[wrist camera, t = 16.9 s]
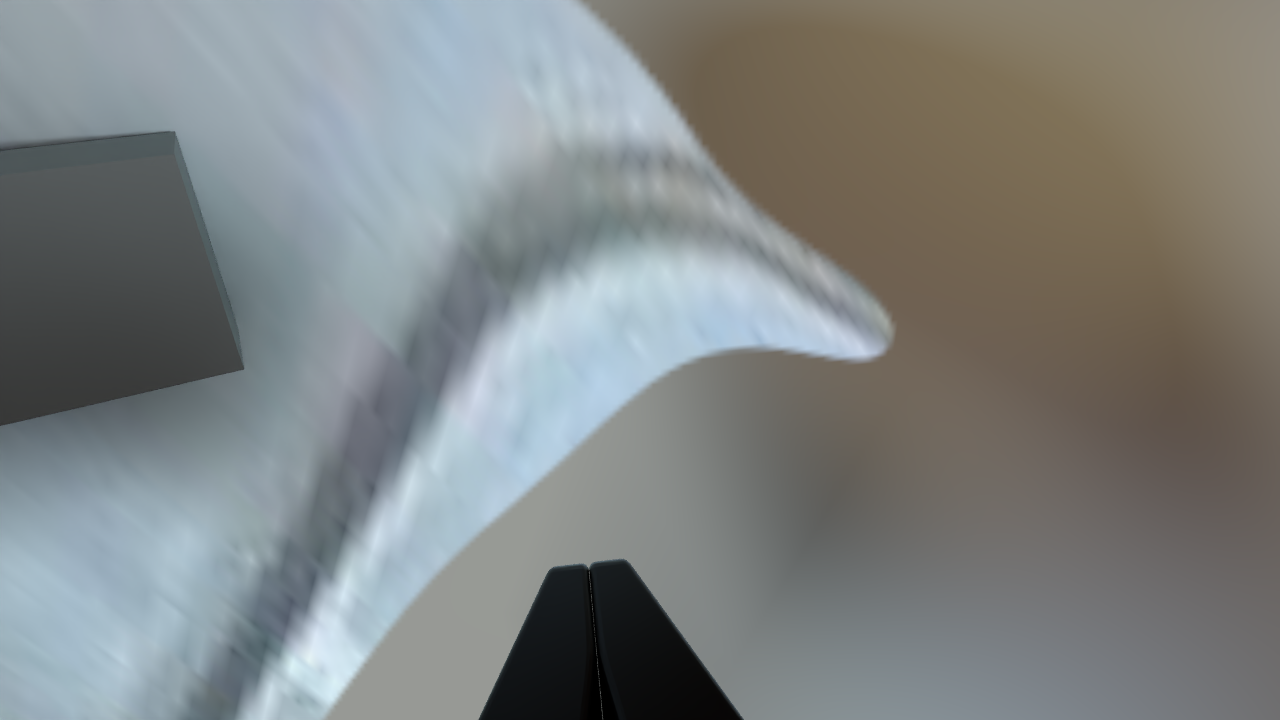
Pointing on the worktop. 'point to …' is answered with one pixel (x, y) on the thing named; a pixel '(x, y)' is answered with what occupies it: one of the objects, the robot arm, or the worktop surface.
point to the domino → (105, 277)
